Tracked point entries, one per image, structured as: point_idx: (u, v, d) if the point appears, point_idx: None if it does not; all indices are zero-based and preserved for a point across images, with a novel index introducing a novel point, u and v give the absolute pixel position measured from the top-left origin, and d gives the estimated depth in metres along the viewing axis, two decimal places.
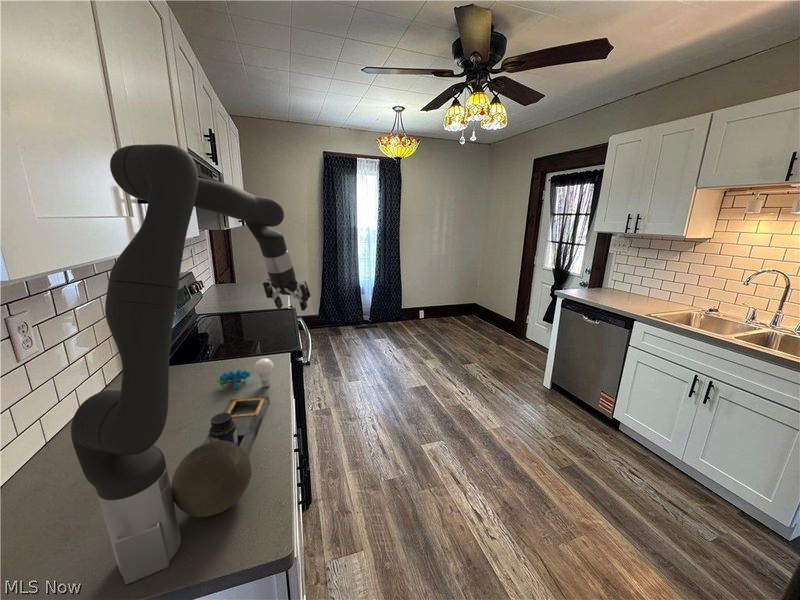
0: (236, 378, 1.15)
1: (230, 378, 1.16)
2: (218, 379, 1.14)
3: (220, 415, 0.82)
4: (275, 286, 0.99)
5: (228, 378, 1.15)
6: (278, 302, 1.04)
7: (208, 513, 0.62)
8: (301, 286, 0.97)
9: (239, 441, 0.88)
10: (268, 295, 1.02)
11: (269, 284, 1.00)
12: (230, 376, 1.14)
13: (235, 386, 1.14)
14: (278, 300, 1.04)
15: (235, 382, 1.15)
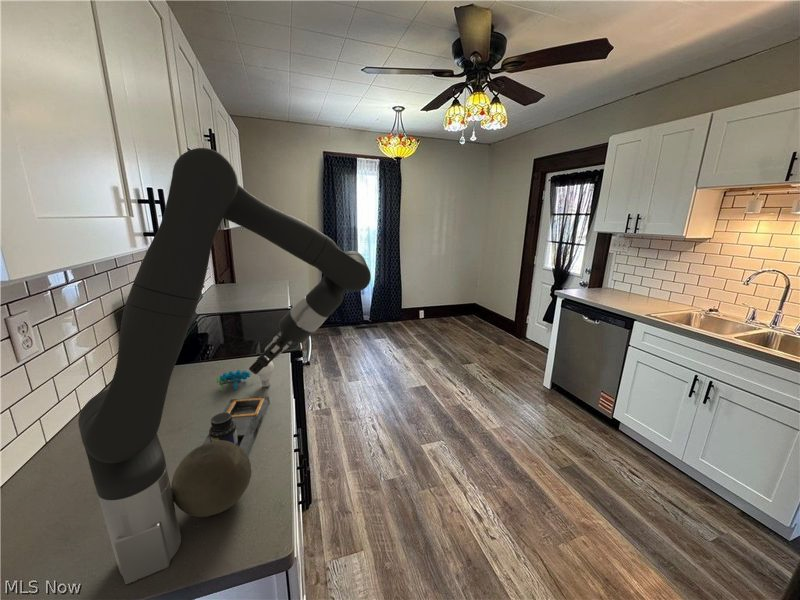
0: (236, 378, 1.15)
1: (230, 378, 1.15)
2: (218, 379, 1.14)
3: (220, 415, 0.82)
4: None
5: (228, 378, 1.15)
6: None
7: (208, 513, 0.62)
8: (273, 343, 0.69)
9: (239, 441, 0.88)
10: None
11: None
12: (230, 376, 1.14)
13: (235, 386, 1.14)
14: None
15: (235, 382, 1.14)
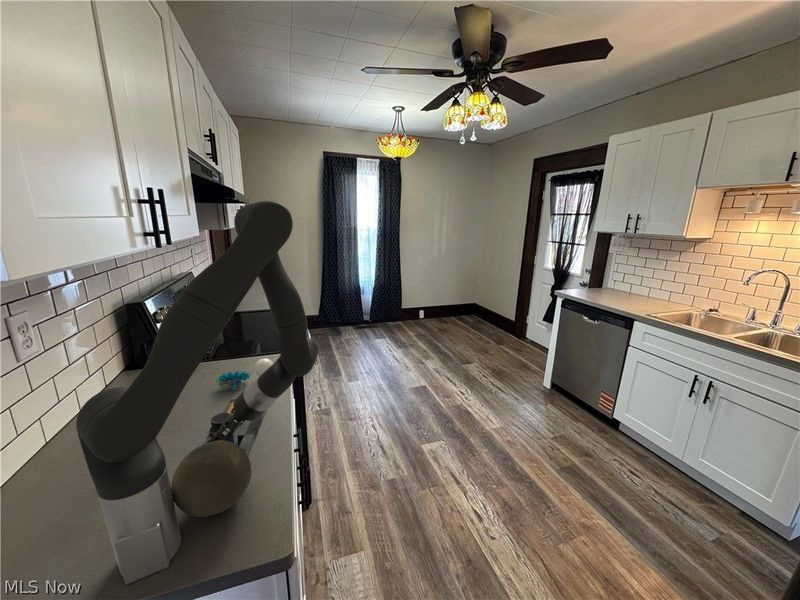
0: (235, 379, 1.14)
1: (229, 379, 1.15)
2: (217, 379, 1.14)
3: (220, 415, 0.82)
4: None
5: (227, 379, 1.15)
6: None
7: (208, 513, 0.62)
8: (223, 426, 0.75)
9: (239, 441, 0.88)
10: None
11: None
12: (229, 377, 1.13)
13: (233, 387, 1.13)
14: None
15: (234, 383, 1.14)
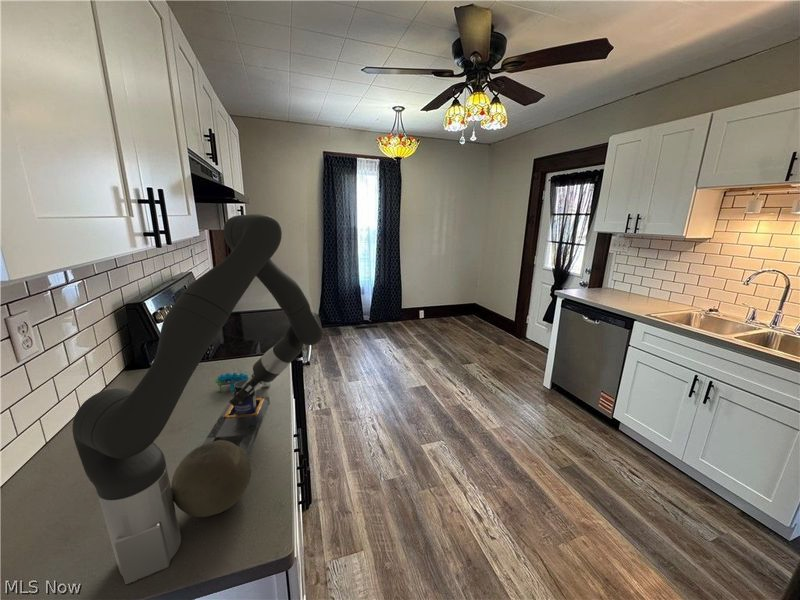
0: (233, 380, 1.14)
1: (228, 380, 1.14)
2: (217, 380, 1.13)
3: (242, 382, 0.98)
4: None
5: (226, 380, 1.14)
6: None
7: (208, 513, 0.62)
8: (247, 384, 0.90)
9: (239, 441, 0.88)
10: None
11: None
12: (227, 378, 1.13)
13: (231, 388, 1.12)
14: None
15: (232, 384, 1.13)
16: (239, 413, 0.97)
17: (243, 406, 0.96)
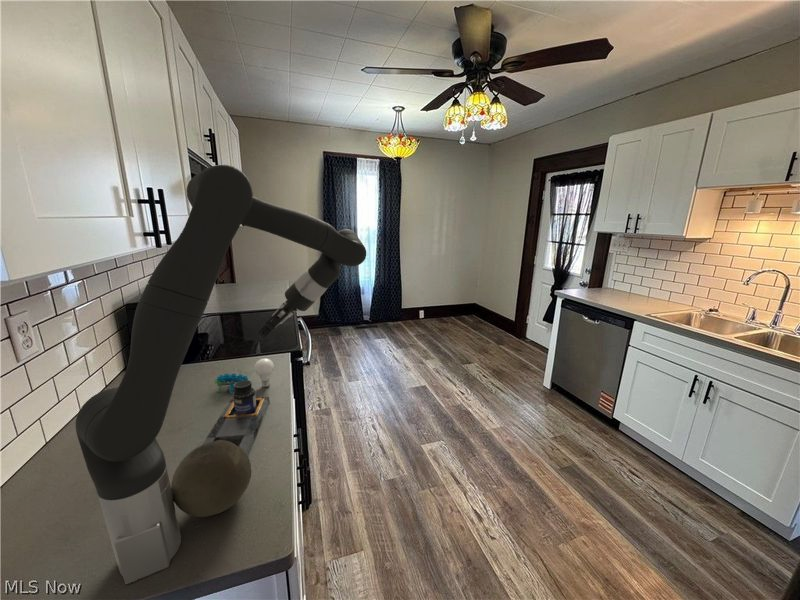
0: (233, 381, 1.13)
1: (228, 380, 1.14)
2: (216, 380, 1.13)
3: (242, 382, 0.98)
4: None
5: (226, 380, 1.14)
6: None
7: (208, 513, 0.62)
8: (279, 309, 0.80)
9: (239, 441, 0.88)
10: None
11: None
12: (226, 378, 1.12)
13: (230, 389, 1.12)
14: None
15: (231, 385, 1.13)
16: (239, 413, 0.97)
17: (243, 406, 0.96)
